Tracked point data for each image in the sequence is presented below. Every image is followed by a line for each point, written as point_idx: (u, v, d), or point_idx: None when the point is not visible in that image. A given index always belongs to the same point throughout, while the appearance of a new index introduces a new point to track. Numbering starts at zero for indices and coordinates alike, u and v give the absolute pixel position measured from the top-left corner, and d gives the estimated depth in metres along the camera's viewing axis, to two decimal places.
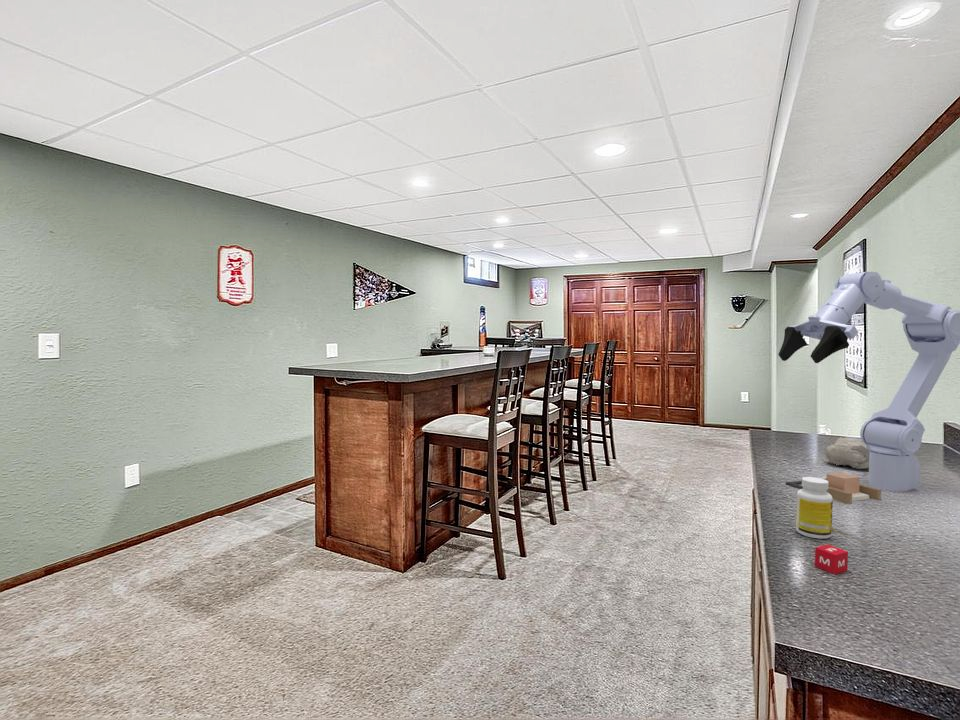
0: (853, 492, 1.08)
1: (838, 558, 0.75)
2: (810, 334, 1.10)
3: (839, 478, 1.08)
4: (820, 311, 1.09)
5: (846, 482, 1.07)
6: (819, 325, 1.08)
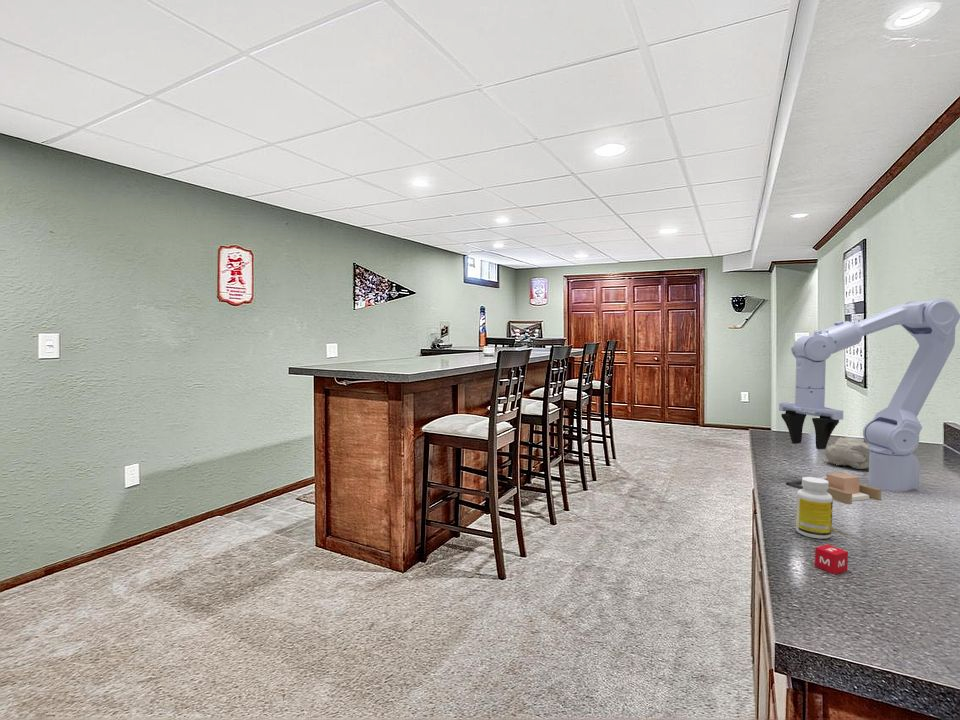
0: (853, 492, 1.08)
1: (838, 558, 0.75)
2: (802, 413, 1.19)
3: (839, 478, 1.08)
4: (798, 396, 1.17)
5: (846, 482, 1.07)
6: None
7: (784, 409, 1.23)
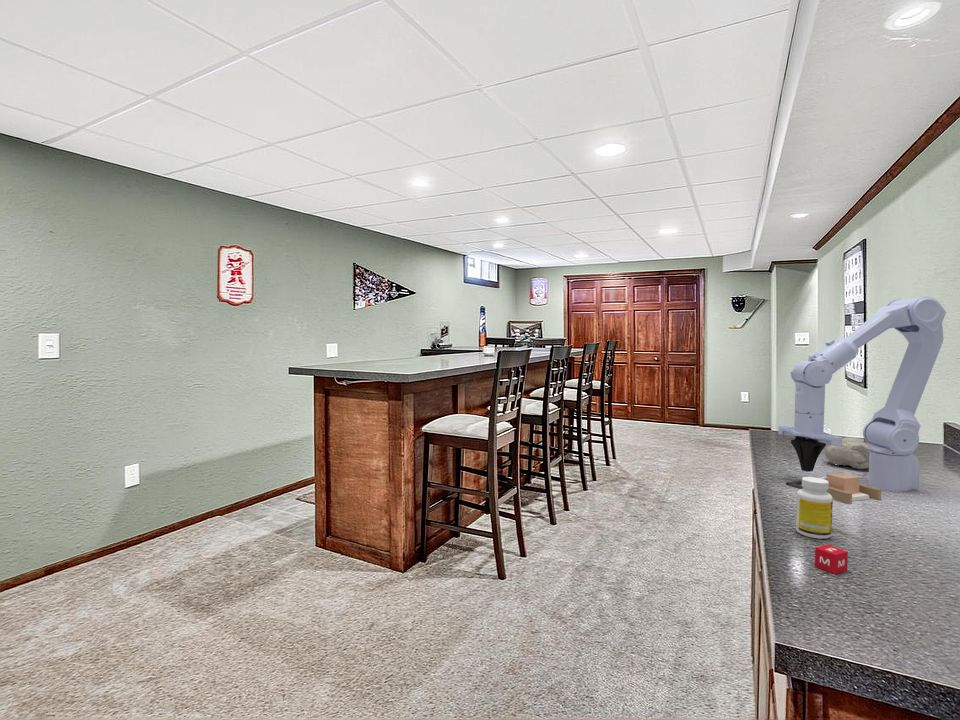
0: (853, 492, 1.08)
1: (838, 558, 0.75)
2: None
3: (839, 478, 1.08)
4: (797, 421, 1.17)
5: (846, 482, 1.07)
6: None
7: (783, 433, 1.23)
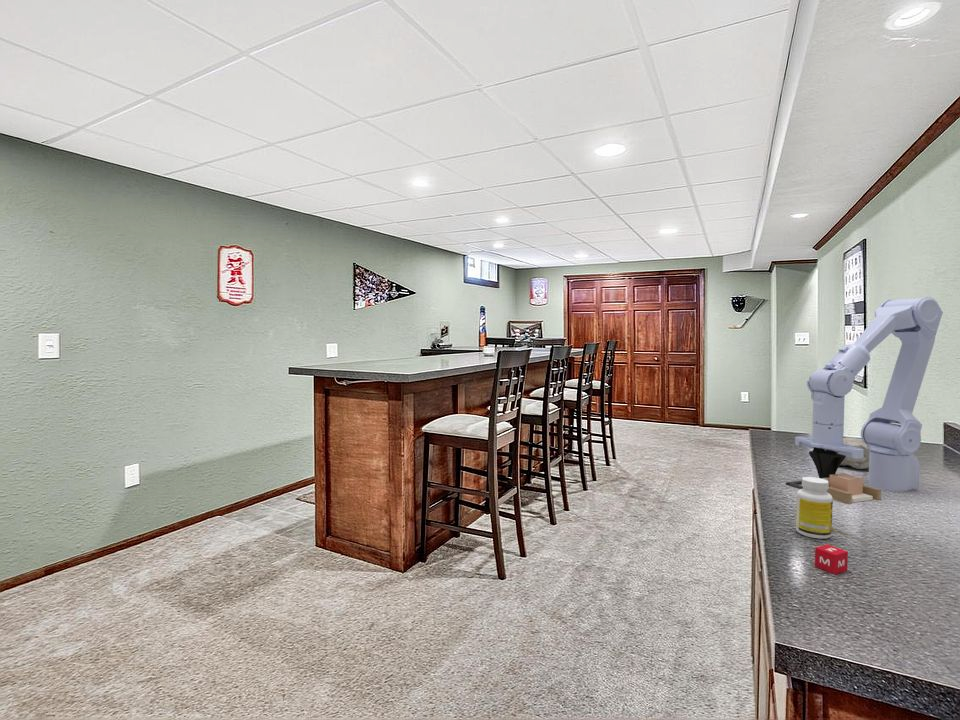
0: (856, 493, 1.07)
1: (838, 558, 0.75)
2: None
3: (842, 479, 1.08)
4: (816, 432, 1.13)
5: (850, 482, 1.07)
6: None
7: (800, 443, 1.19)
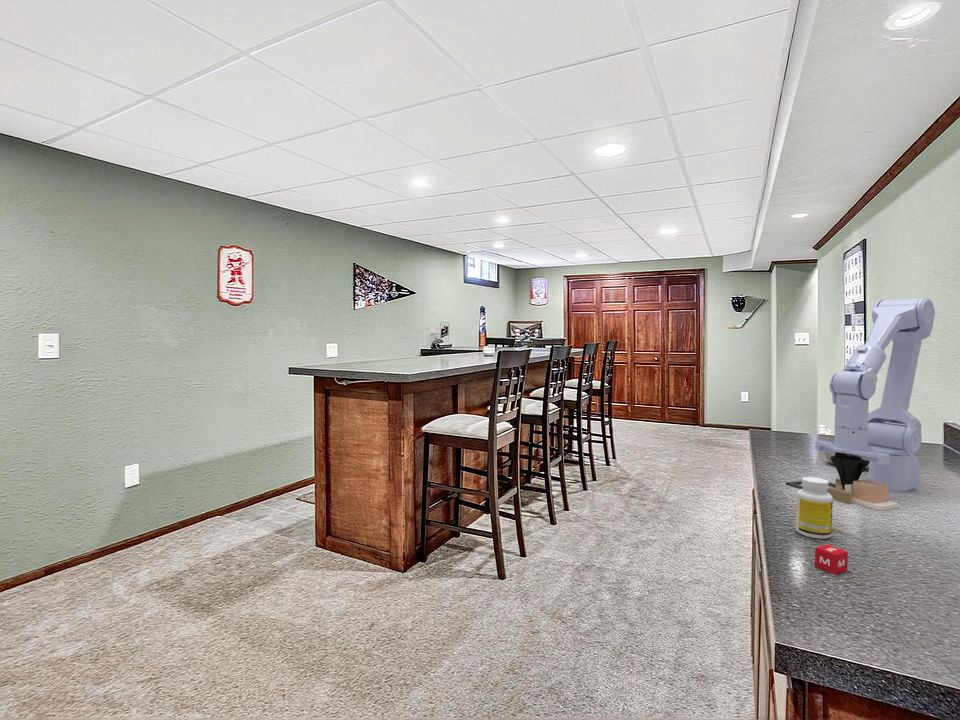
0: (882, 500, 1.03)
1: (838, 558, 0.75)
2: None
3: (867, 486, 1.03)
4: (838, 436, 1.08)
5: (875, 489, 1.02)
6: None
7: (821, 448, 1.14)
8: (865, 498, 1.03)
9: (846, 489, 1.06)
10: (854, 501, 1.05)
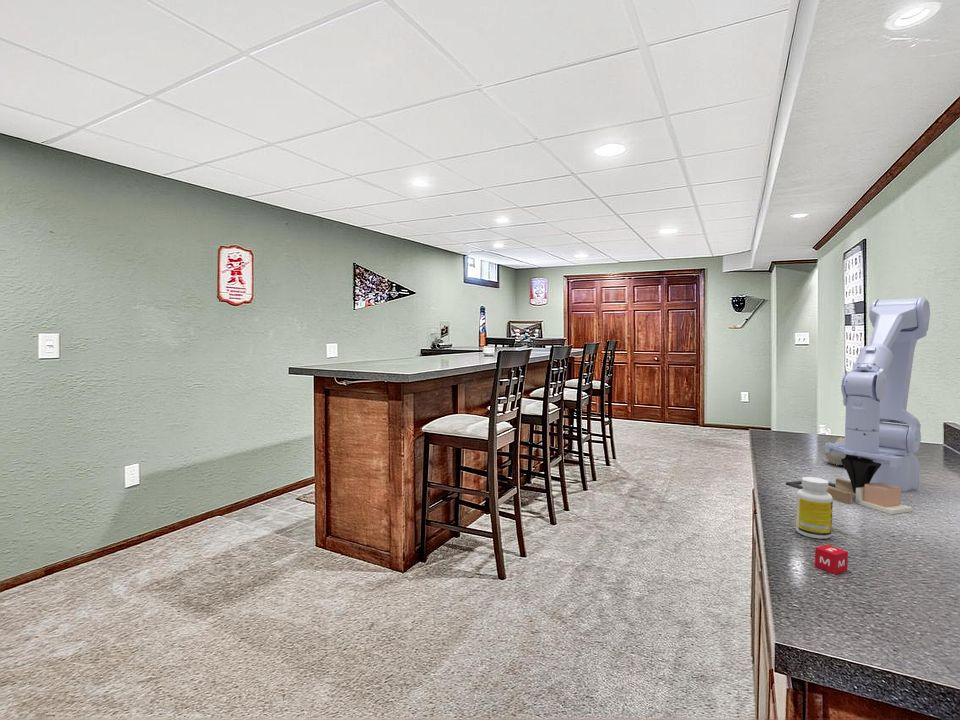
0: (894, 504, 1.00)
1: (838, 558, 0.75)
2: None
3: (879, 489, 1.00)
4: (849, 438, 1.05)
5: (887, 493, 1.00)
6: None
7: (831, 450, 1.12)
8: (877, 502, 1.01)
9: (857, 492, 1.04)
10: (865, 505, 1.02)
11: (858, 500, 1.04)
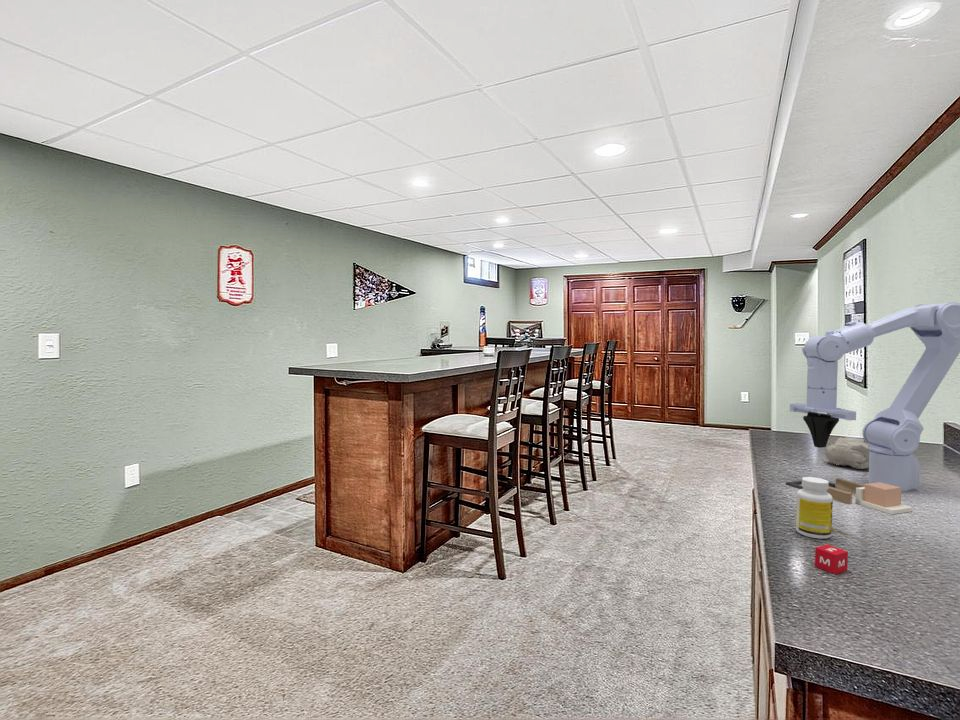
0: (894, 504, 1.00)
1: (838, 558, 0.75)
2: None
3: (879, 489, 1.00)
4: (810, 396, 1.16)
5: (887, 493, 1.00)
6: None
7: (795, 410, 1.22)
8: (877, 502, 1.01)
9: (857, 492, 1.04)
10: (866, 505, 1.02)
11: (858, 500, 1.04)
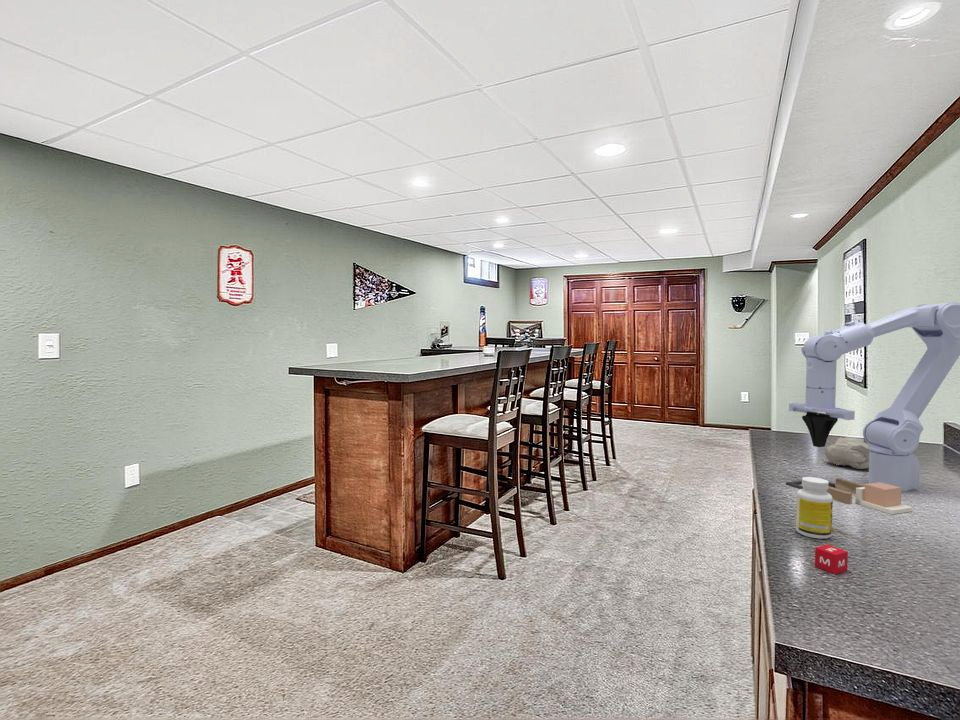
0: (894, 504, 1.00)
1: (838, 558, 0.75)
2: None
3: (879, 489, 1.00)
4: (809, 396, 1.16)
5: (887, 493, 1.00)
6: None
7: (794, 409, 1.22)
8: (877, 502, 1.01)
9: (857, 492, 1.04)
10: (866, 505, 1.02)
11: (858, 500, 1.04)
